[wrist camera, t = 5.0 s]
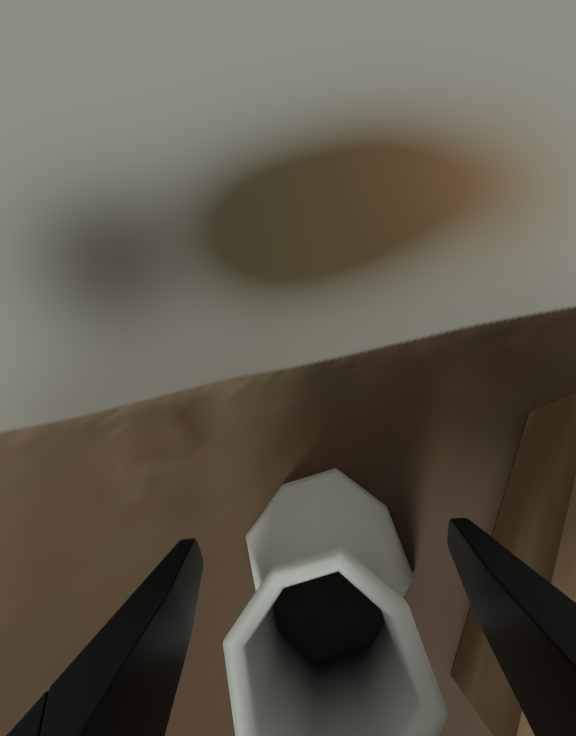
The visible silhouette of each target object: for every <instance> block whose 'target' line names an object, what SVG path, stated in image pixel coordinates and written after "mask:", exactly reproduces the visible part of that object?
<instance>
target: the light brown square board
mask: <svg viewBox="0 0 576 736" xmlns="http://www.w3.org/2000/svg"><path fill="white" fill-rule="evenodd" d="M492 538H493V539H495V540H496V541H497V542H498V543H500V544H501V545H502V546H504V547H505V548H506V549H507V550H509V551H510V552H511V553H513V554H514V555H515V556H516V557H518V558H519V559H520V560H521V561H523V562H524V563H525V564H527V565H528V566H529V567H530V568H532V569H533V570H534V571H536V572H537V573H538V574H539V575H541V576H542V577H543V578H545V579H546V580H547V581H548V582H550V583H551V584H552V585H554V586H555V587H556V588H557V589H559V590H560V591H561V592H563V593H564V594H565V595H566V596H568V597H569V598H570V599H572V600H573V601H574V602H575V603H576V393H574V394H571V395H569V396H566V397H564V398H562V399H559V400H557V401H554V402H552V403H549V404H547V405H544V406H542V407H540V408H537V409H535V410H532V411H530V412H529V415H528V418H527V422H526V425H525V428H524V432H523V435H522V438H521V442H520V445H519V448H518V452H517V455H516V458H515V462H514V465H513V468H512V472H511V475H510V478H509V482H508V485H507V488H506V492H505V495H504V498H503V502H502V505H501V508H500V512H499V515H498V518H497V522H496V525H495V528H494V532H493V535H492ZM451 676H452V677H453V679H454V680H455V681H456V683H457V684H458V686H459V687H460V689H461V690H462V691H463V693H464V694H465V696H466V697H467V698H468V700H469V701H470V703H471V704H472V706H473V707H474V708H475V710H476V711H477V713H478V714H479V715H480V717H481V718H482V720H483V721H484V723H485V724H486V725H487V727H488V728H489V730H490V731H491V732H492V734H493V735H494V736H535V735H534V733H533V731H532V729H531V727H530V725H529V723H528V721H527V719H526V717H525V715H524V713H523V711H522V709H521V707H520V705H519V703H518V701H517V699H516V697H515V695H514V693H513V691H512V689H511V687H510V685H509V683H508V681H507V679H506V677H505V675H504V673H503V671H502V669H501V667H500V665H499V663H498V661H497V659H496V657H495V655H494V653H493V651H492V649H491V647H490V645H489V643H488V641H487V639H486V637H485V635H484V633H483V631H482V629H481V627H480V624H479V622H478V620H477V618H476V616H475V613H474V611H473V608H472V606H471V609H470V612H469V615H468V619H467V622H466V625H465V629H464V632H463V635H462V639H461V642H460V645H459V649H458V652H457V655H456V659H455V662H454V665H453V669H452V672H451Z"/></svg>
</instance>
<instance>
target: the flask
mask: <svg viewBox="0 0 576 736" xmlns="http://www.w3.org/2000/svg"><path fill="white" fill-rule="evenodd" d="M245 536H246V541H247V547H248V552H249V558H250V563H251V569H252V574H253V579H254V585H255V590H256V592H255V594H254V595H253V597H252V598H251V600H250V601H249V603H248V604H247V606H246V607H245V609H244V610H243V612H242V613H241V615H240V616H239V618H238V619H237V621H236V622H235V624H234V625H233V627H232V628H231V630H230V631H229V633H228V634H227V636H226V638H225V639H224V641H223V648H224V655H225V663H226V670H227V677H228V685H229V692H230V700H231V707H232V714H233V722H234V729H235V736H440V734H441V731H442V729H443V727H444V724H445V722H446V720H447V717H448V712H447V710H446V707H445V704H444V701H443V699H442V696H441V693H440V690H439V688H438V685H437V682H436V679H435V677H434V674H433V671H432V668H431V666H430V663H429V660H428V657H427V655H426V652H425V649H424V646H423V644H422V641H421V638H420V635H419V633H418V630H417V627H416V624H415V622H414V619H413V616H412V613H411V611H410V608H409V605H408V604H407V602H406V600H404V599H403V597H404V595H405V593H406V591H407V590H408V588H409V586H410V584H411V582H412V580H413V578H414V576H413V573H412V571H411V568H410V565H409V563H408V560H407V558H406V555H405V552H404V550H403V547H402V545H401V542H400V539H399V537H398V534H397V532H396V529H395V526H394V524H393V521H392V518H391V516H390V513H389V511H388V508H387V506H386V505H384V504H383V503H382V502H380V501H379V500H378V499H376V498H375V497H374V496H373V495H371V494H370V493H369V492H367V491H366V490H365V489H363V488H362V487H361V486H359V485H358V484H357V483H355V482H354V481H353V480H351V479H350V478H349V477H347V476H346V475H345V474H343V473H342V472H341V471H339V470H338V469H337V468H334V469H331V470H328V471H324V472H321V473H318V474H315V475H311V476H308V477H305V478H301V479H298V480H295V481H292V482H288V483H285V484H282V485H281V486H280V488H279V489H278V491H277V492H276V493H275V495H274V496H273V498H272V499H271V500H270V502H269V503H268V505H267V506H266V507H265V509H264V510H263V512H262V513H261V514H260V516H259V517H258V519H257V520H256V521H255V523H254V524H253V526H252V527H251V528H250V530H249V531H248V533H247V534H246V535H245Z"/></svg>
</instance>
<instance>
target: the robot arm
mask: <svg viewBox="0 0 576 736" xmlns="http://www.w3.org/2000/svg"><path fill="white" fill-rule="evenodd" d="M448 547H449V550H450V553H451V555H452V558H453V560H454V563H455V566H456V568H457V571H458V573H459V576H460V578H461V581H462V583H463V586H464V588H465V591H466V593H467V596H468V598H469V601H470V603H471V606H472V608H473V611H474V613H475V616H476V618H477V620H478V622H479V624H480V627H481V629H482V631H483V633H484V635H485V637H486V639H487V641H488V643H489V645H490V647H491V649H492V651H493V653H494V655H495V657H496V659H497V661H498V663H499V665H500V667H501V669H502V671H503V673H504V675H505V677H506V679H507V681H508V683H509V685H510V687H511V689H512V691H513V693H514V695H515V697H516V699H517V701H518V703H519V705H520V707H521V709H522V711H523V713H524V715H525V717H526V719H527V721H528V723H529V725H530V727H531V729H532V731H533V733H534V735H535V736H576V603H575V602H574V601H573V600H572V599H570V598H569V597H568V596H566V595H565V594H564V593H563V592H561V591H560V590H559V589H557V588H556V587H555V586H554V585H552V584H551V583H550V582H548V581H547V580H546V579H545V578H543V577H542V576H541V575H539V574H538V573H537V572H536V571H534V570H533V569H532V568H530V567H529V566H528V565H527V564H525V563H524V562H523V561H521V560H520V559H519V558H518V557H516V556H515V555H514V554H513V553H511V552H510V551H509V550H507V549H506V548H505V547H504V546H502V545H501V544H500V543H498V542H497V541H496V540H495V539H493V538H492V537H491V536H489V535H488V534H487V533H486V532H484V531H483V530H482V529H480V528H479V527H478V526H477V525H475V524H474V523H473V522H471V521H470V520H469V519H467V518H453V519H450V521H449V528H448ZM202 570H203V557H202V554H201V551H200V548H199V545H198V542H197V540H196V539H194V538H191V539H182V540H180V541H179V542H178V543H177V544H176V545H175V546H174V548H173V549H172V550H171V551H170V552H169V553H168V554H167V556H166V557H165V558H164V559H163V560H162V561H161V562H160V563H159V565H158V566H157V567H156V568H155V569H154V570H153V571H152V572H151V574H150V575H149V576H148V577H147V578H146V579H145V580H144V581H143V583H142V584H141V585H140V586H139V587H138V588H137V589H136V591H135V592H134V593H133V594H132V595H131V596H130V597H129V598H128V600H127V601H126V602H125V603H124V604H123V605H122V606H121V607H120V609H119V610H118V611H117V612H116V613H115V614H114V615H113V617H112V618H111V619H110V620H109V621H108V622H107V623H106V624H105V626H104V627H103V628H102V629H101V630H100V631H99V632H98V633H97V635H96V636H95V637H94V638H93V639H92V640H91V641H90V642H89V644H88V645H87V646H86V647H85V648H84V649H83V650H82V652H81V653H80V654H79V655H78V656H77V657H76V658H75V659H74V661H73V662H72V663H71V664H70V665H69V666H68V667H67V668H66V670H65V671H64V672H63V673H62V674H61V675H60V676H59V678H58V679H57V680H56V681H55V682H54V683H53V684H52V685H51V687H50V689H49V691H47V692H45V693H44V694H43V695H42V697H41V698H40V699H39V700H38V701H37V702H36V703H35V704H34V706H33V707H32V708H31V709H30V710H29V711H28V712H27V713H26V715H25V716H24V717H23V718H22V719H21V720H20V721H19V722H18V723H17V724H16V726H15V727H14V728H13V729H12V730H11V731H10V732H9V733H8V734H7V735H6V736H165V732H166V728H167V725H168V721H169V717H170V713H171V709H172V706H173V702H174V698H175V694H176V691H177V687H178V683H179V679H180V675H181V672H182V668H183V664H184V660H185V656H186V653H187V649H188V645H189V641H190V637H191V632H192V627H193V622H194V616H195V611H196V605H197V599H198V593H199V587H200V582H201V576H202Z"/></svg>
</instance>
